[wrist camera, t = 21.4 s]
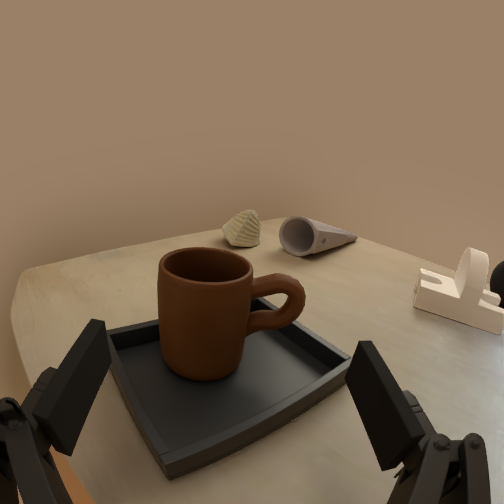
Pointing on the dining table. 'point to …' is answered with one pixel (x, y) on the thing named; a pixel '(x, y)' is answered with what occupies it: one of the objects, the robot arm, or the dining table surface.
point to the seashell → (243, 229)
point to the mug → (215, 309)
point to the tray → (221, 391)
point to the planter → (311, 236)
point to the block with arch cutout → (462, 294)
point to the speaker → (498, 282)
